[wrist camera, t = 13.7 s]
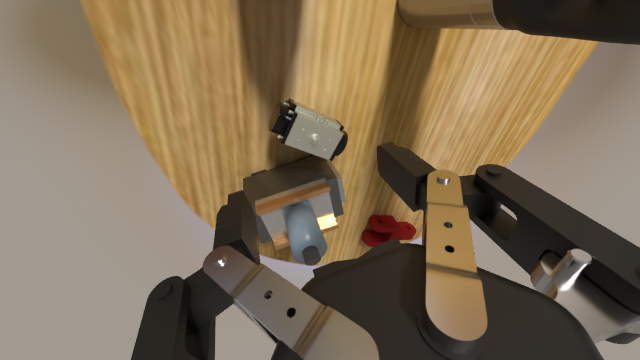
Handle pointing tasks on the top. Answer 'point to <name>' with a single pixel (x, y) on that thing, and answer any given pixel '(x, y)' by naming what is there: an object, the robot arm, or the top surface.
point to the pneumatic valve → (308, 130)
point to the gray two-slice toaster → (294, 196)
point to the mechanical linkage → (387, 230)
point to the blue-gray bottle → (304, 234)
